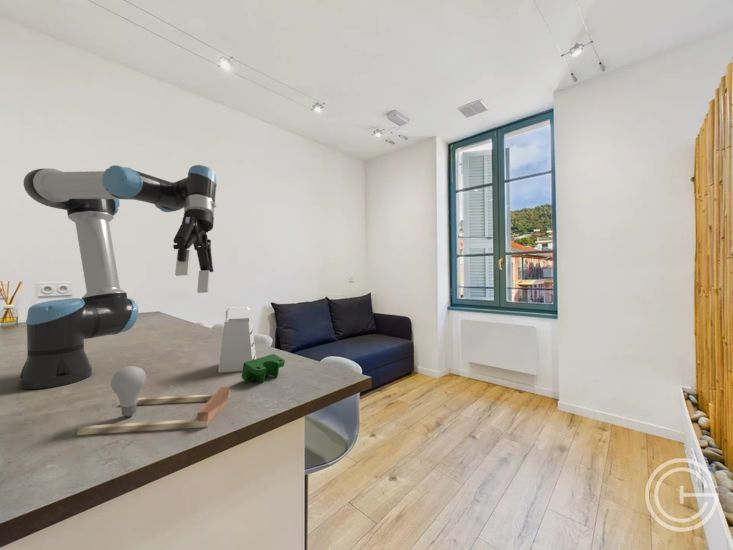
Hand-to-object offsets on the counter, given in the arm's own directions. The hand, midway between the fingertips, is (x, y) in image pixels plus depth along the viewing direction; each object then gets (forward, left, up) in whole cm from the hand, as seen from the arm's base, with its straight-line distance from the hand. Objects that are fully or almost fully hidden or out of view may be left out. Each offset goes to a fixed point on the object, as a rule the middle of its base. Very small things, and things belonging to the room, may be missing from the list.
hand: (193, 284), depth 79 cm
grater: (+5, +22, -29) cm, 37 cm away
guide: (-2, -12, -29) cm, 31 cm away
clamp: (+16, +9, -29) cm, 35 cm away
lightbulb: (-9, -12, -29) cm, 32 cm away
